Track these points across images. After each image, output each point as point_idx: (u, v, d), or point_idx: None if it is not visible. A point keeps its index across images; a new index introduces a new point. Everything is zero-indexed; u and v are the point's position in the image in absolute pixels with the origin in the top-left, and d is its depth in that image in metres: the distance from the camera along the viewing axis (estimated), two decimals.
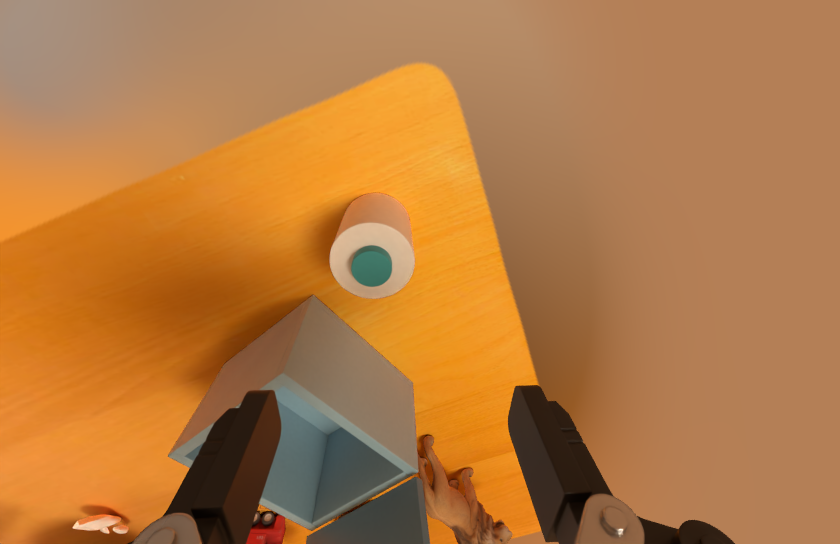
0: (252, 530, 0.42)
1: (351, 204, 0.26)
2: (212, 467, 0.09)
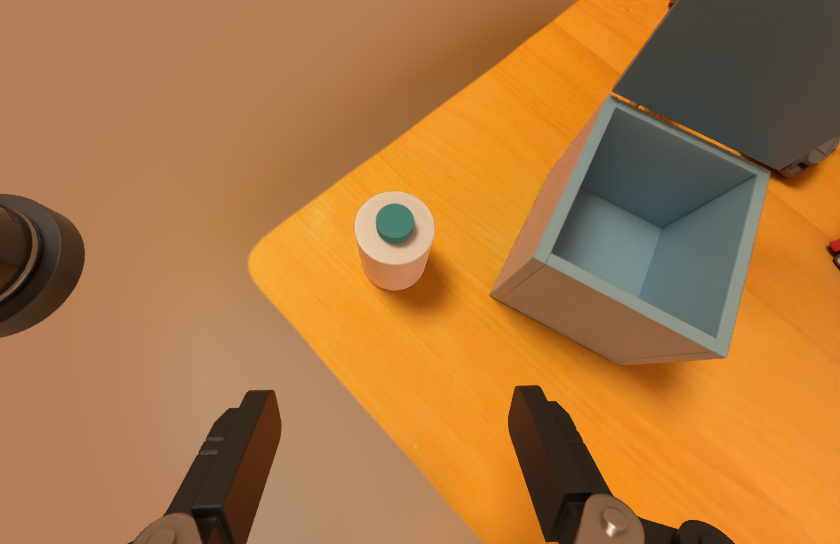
0: None
1: (379, 285, 0.27)
2: (212, 467, 0.09)
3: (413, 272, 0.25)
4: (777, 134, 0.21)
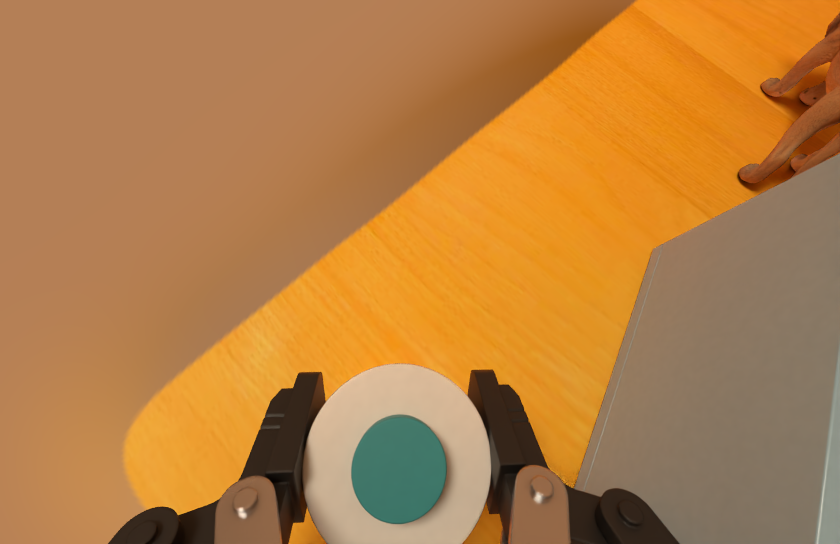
0: None
1: None
2: (278, 438, 0.09)
3: None
4: None
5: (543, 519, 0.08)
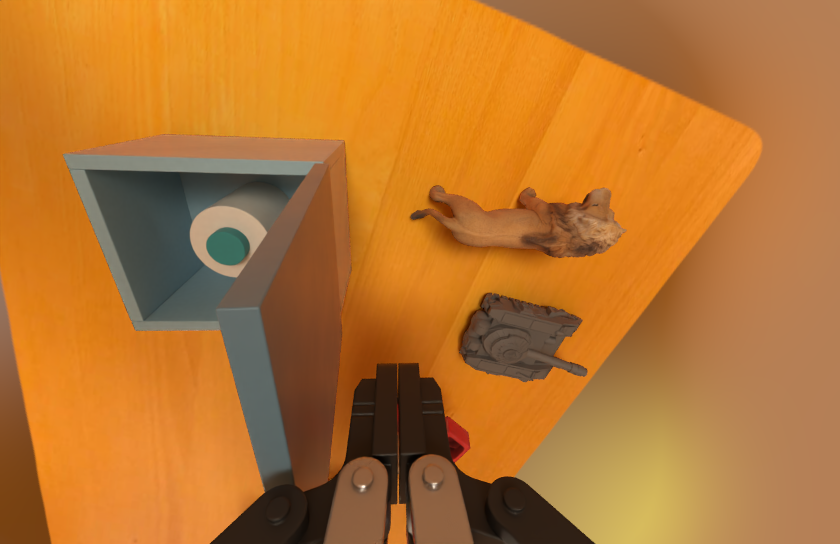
0: None
1: None
2: (375, 424, 0.10)
3: None
4: None
5: (427, 506, 0.08)
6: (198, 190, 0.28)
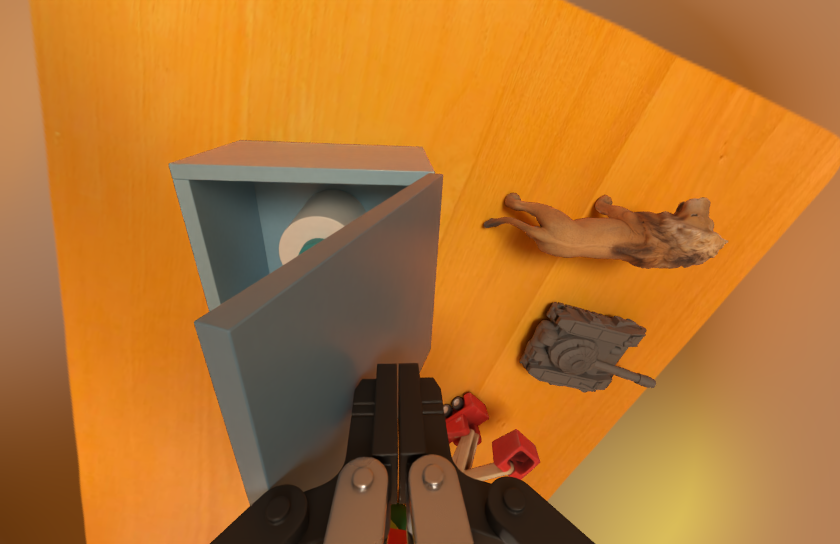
0: (449, 418, 0.38)
1: None
2: (375, 424, 0.10)
3: None
4: None
5: (427, 506, 0.08)
6: (271, 197, 0.27)
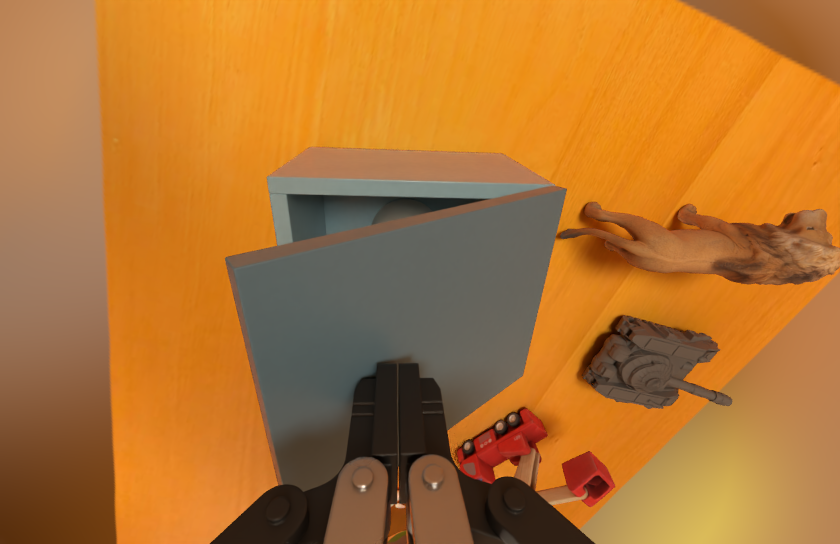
0: (506, 436, 0.36)
1: None
2: (375, 424, 0.10)
3: None
4: None
5: (427, 506, 0.08)
6: (339, 208, 0.25)
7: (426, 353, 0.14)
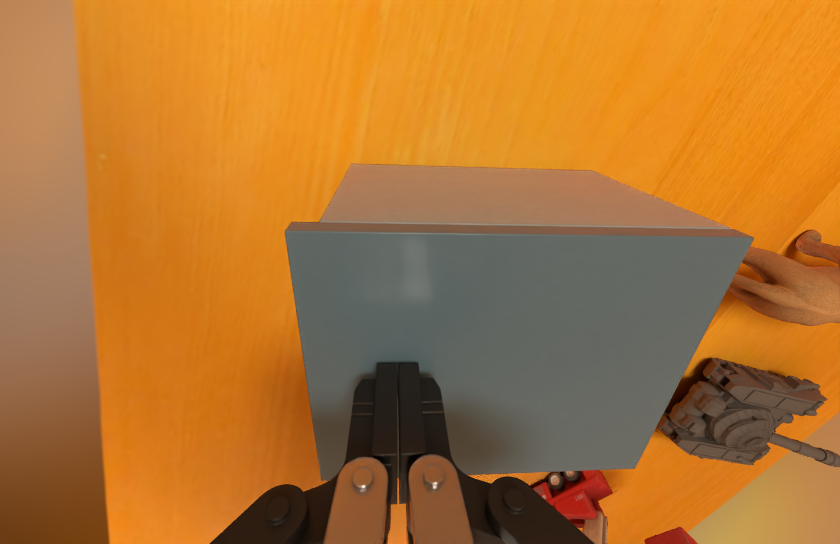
0: (564, 494, 0.31)
1: None
2: (375, 424, 0.10)
3: None
4: None
5: (427, 506, 0.08)
6: None
7: (475, 375, 0.13)
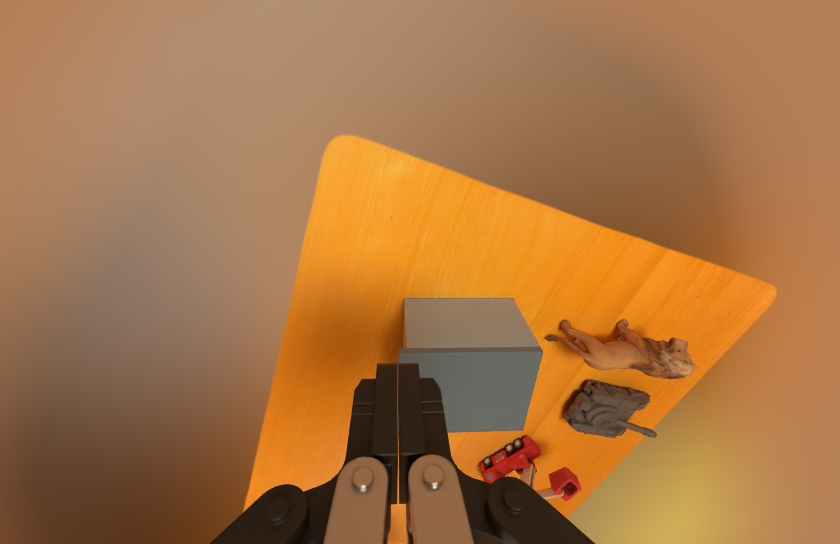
0: (513, 455, 0.55)
1: None
2: (375, 424, 0.10)
3: None
4: None
5: (427, 506, 0.08)
6: None
7: (456, 394, 0.37)
